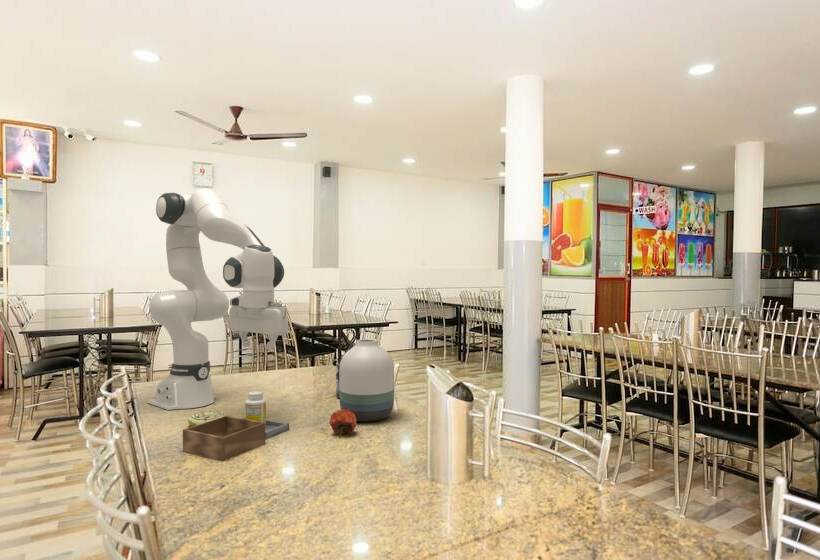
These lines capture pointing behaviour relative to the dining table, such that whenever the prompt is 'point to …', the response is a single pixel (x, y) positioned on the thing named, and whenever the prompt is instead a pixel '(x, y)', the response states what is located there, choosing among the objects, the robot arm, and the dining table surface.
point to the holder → (223, 437)
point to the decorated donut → (204, 417)
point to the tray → (274, 428)
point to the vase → (367, 381)
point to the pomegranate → (343, 421)
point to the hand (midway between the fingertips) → (258, 348)
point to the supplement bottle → (256, 407)
